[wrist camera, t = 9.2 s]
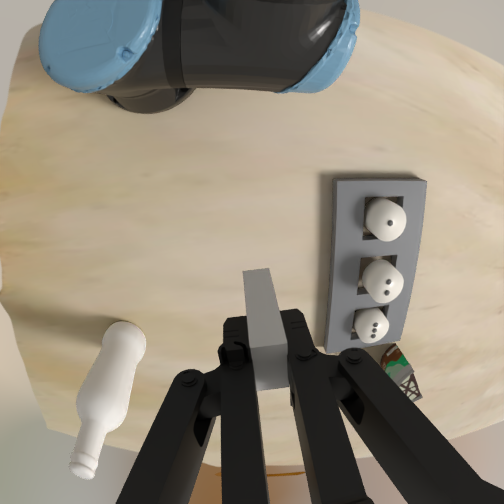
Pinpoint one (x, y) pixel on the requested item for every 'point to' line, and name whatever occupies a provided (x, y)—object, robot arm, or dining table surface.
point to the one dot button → (384, 219)
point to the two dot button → (382, 281)
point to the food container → (400, 372)
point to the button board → (358, 246)
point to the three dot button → (370, 324)
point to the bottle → (106, 394)
